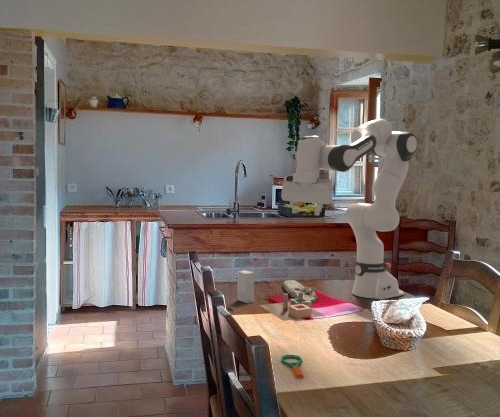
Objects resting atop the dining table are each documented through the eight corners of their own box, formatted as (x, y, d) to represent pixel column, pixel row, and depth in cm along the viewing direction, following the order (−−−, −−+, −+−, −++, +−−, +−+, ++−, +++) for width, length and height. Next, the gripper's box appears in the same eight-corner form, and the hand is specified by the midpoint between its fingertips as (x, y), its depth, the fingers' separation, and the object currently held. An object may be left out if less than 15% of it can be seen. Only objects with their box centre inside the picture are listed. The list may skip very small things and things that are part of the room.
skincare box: (254, 302, 215) (255, 272, 213) (246, 303, 212) (246, 273, 210) (245, 298, 219) (245, 269, 218) (236, 300, 216) (236, 271, 215)
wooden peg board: (297, 304, 212) (298, 286, 211) (324, 319, 194) (325, 299, 193) (259, 309, 205) (259, 290, 204) (283, 324, 187) (284, 303, 186)
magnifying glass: (279, 358, 157) (279, 353, 157) (299, 358, 157) (299, 352, 157) (288, 380, 142) (289, 374, 142) (311, 379, 142) (311, 373, 142)
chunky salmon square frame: (302, 311, 197) (303, 303, 197) (311, 316, 192) (311, 308, 191) (288, 313, 195) (288, 305, 194) (296, 318, 189) (296, 310, 189)
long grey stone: (298, 288, 245) (277, 289, 243) (298, 276, 244) (277, 278, 243) (323, 305, 210) (299, 307, 209) (322, 292, 210) (298, 294, 208)
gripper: (335, 179, 200) (334, 216, 201) (287, 176, 211) (286, 211, 212) (329, 179, 195) (327, 217, 196) (280, 176, 206) (278, 212, 207)
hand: (305, 214), depth 204 cm, fingers open, 8 cm apart
